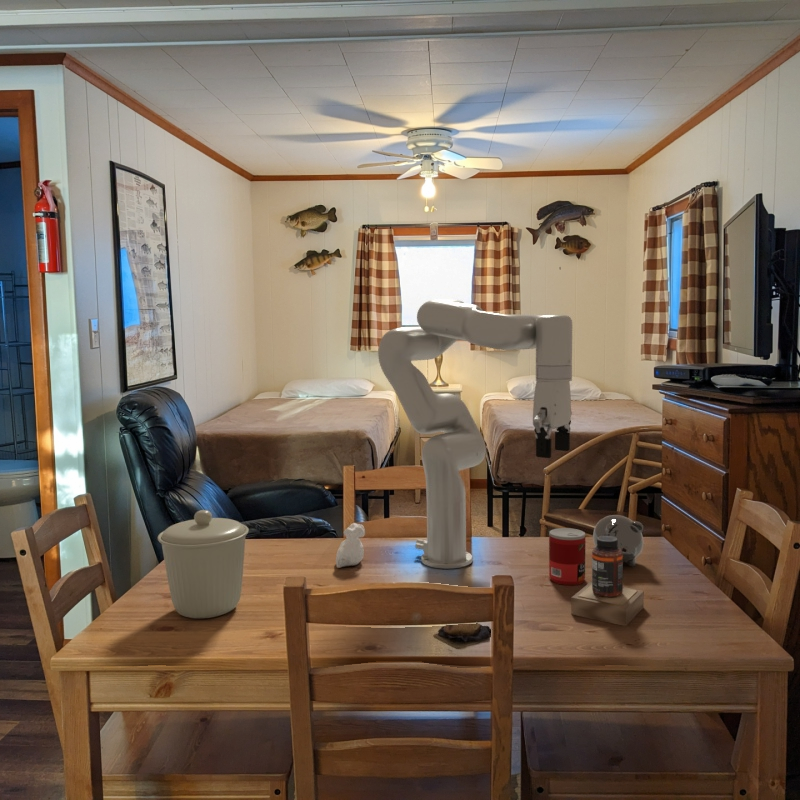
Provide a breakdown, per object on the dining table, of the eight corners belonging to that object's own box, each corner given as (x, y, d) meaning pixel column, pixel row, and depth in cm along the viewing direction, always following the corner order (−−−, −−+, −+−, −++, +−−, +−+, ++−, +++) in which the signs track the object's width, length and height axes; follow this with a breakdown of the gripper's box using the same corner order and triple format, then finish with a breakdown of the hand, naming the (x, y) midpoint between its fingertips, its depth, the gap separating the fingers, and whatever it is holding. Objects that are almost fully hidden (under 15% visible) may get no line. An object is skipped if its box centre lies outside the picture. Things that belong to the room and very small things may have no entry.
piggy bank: (607, 575, 171) (608, 526, 170) (584, 555, 186) (585, 510, 185) (654, 572, 172) (655, 524, 171) (627, 553, 187) (628, 508, 186)
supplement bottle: (620, 588, 152) (621, 534, 151) (624, 599, 146) (625, 543, 145) (590, 587, 153) (591, 533, 152) (593, 597, 147) (593, 542, 146)
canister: (219, 632, 144) (214, 525, 141) (142, 620, 150) (137, 518, 148) (267, 599, 160) (263, 503, 158) (196, 590, 167) (192, 497, 164)
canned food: (585, 586, 164) (586, 537, 163) (548, 584, 166) (549, 536, 165) (584, 575, 172) (584, 528, 171) (549, 573, 173) (549, 527, 172)
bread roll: (458, 653, 134) (458, 633, 133) (429, 637, 140) (429, 619, 140) (501, 637, 140) (501, 618, 139) (472, 623, 147) (471, 605, 146)
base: (571, 614, 149) (571, 596, 148) (591, 597, 158) (591, 580, 157) (626, 626, 143) (626, 607, 142) (643, 607, 151) (643, 590, 151)
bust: (344, 580, 177) (371, 545, 175) (319, 560, 178) (346, 525, 176) (358, 564, 189) (383, 531, 186) (335, 545, 190) (360, 512, 187)
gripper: (553, 370, 166) (553, 446, 168) (519, 376, 152) (519, 458, 154) (585, 371, 162) (585, 449, 164) (553, 377, 148) (553, 462, 150)
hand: (553, 453), depth 159 cm, fingers open, 9 cm apart
